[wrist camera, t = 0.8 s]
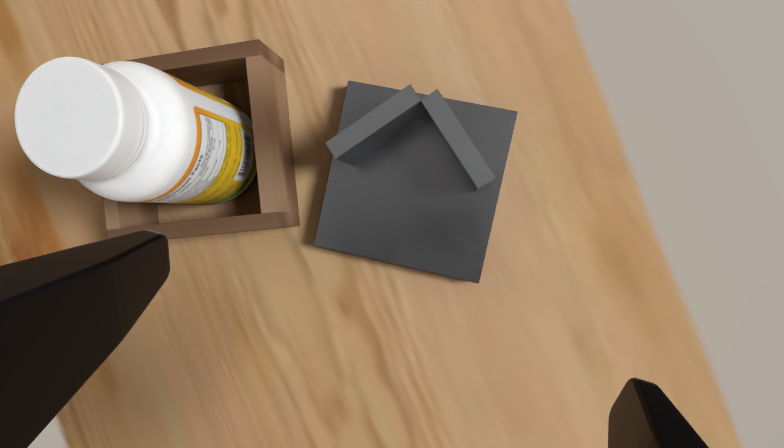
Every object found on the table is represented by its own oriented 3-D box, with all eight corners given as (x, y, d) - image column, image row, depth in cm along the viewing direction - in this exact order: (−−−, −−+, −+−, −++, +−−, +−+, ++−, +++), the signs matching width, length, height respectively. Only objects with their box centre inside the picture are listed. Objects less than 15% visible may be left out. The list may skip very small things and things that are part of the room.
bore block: (299, 225, 25) (277, 227, 22) (148, 241, 26) (107, 244, 24) (283, 59, 25) (258, 39, 22) (131, 83, 26) (89, 66, 23)
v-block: (478, 280, 24) (480, 293, 20) (320, 243, 25) (292, 249, 21) (515, 115, 24) (525, 96, 20) (353, 85, 25) (331, 61, 21)
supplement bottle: (148, 137, 26) (-34, 94, 17) (229, 80, 26) (87, -1, 16) (199, 224, 26) (43, 230, 16) (282, 168, 25) (171, 141, 16)
